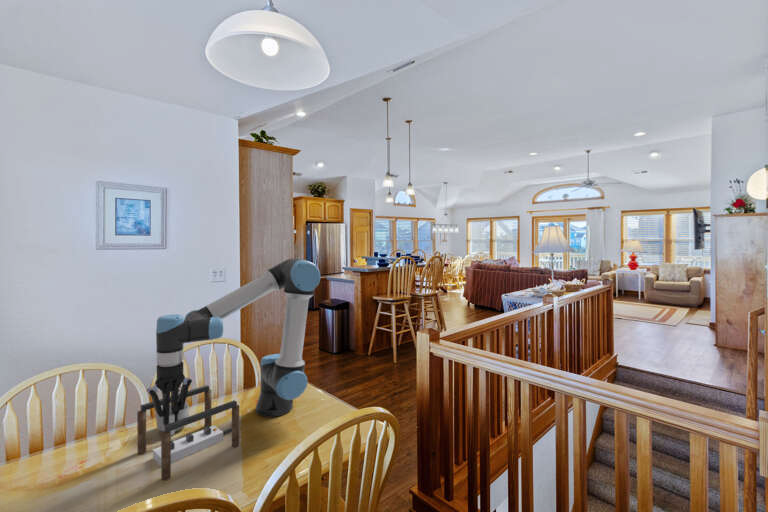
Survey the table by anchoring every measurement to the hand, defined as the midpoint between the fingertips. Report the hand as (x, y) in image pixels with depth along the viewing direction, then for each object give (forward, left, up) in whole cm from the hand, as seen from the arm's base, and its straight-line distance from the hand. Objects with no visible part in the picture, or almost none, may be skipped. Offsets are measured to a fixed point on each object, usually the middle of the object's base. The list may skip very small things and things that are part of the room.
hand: (170, 433), depth 116 cm
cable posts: (-6, 0, -8) cm, 10 cm away
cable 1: (-6, -10, +6) cm, 13 cm away
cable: (-6, +10, +6) cm, 13 cm away
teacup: (-9, -19, -8) cm, 23 cm away
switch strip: (-9, 0, -8) cm, 12 cm away
